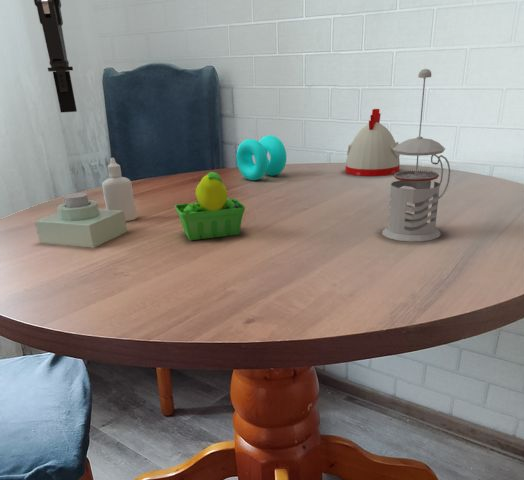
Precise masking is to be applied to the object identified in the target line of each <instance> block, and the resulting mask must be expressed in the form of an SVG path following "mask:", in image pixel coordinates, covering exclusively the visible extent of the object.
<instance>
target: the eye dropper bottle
mask: <svg viewBox="0 0 524 480" xmlns="http://www.w3.org/2000/svg"><path fill="white" fill-rule="evenodd" d="M109 160H110V161H109V164H108V165H107V174H108V178H106V179H105V180H103V181H102V183H101V188H102V193H103V194H102V195H103V200H104V204H105V205H104V206H105V209H106V210H121V211H124V216H125V222H131V221H134V220H135V221H136V220H137V217H138V216H137V209H136V203H135V196H134V189H133V186H132V181H131V180H130V178H128V177H124V176H122V175H123V174H122V170H121V169H122V168H121V164H118V163H117V162H116V159H115V157H110V158H109Z"/></svg>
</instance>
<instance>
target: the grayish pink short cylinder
mask: <svg viewBox="0 0 524 480" xmlns="http://www.w3.org/2000/svg"><path fill="white" fill-rule="evenodd" d="M63 199H64V203H65V204H66V207H67V208H76V207H83V206H87V205H89V200H90V199H89V195H88V193H85V192H74V193H68V194H65V195H64V196H63Z"/></svg>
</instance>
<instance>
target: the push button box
mask: <svg viewBox="0 0 524 480" xmlns="http://www.w3.org/2000/svg"><path fill="white" fill-rule="evenodd" d="M88 200H89V205H87V206H83V207H76V208H67V207H66V204H65V202H63V203H60V204H58V205H57V206H56V210H57V212H56V213H52V214H50V215H47V216H44V217H42V218H38V219H35V220H34V225H35V228H36V233H37V236H38V240H39V244H48V245H49V244H51V245H58V246H59V245H60V246H71V247H79V248H81V247H82V248H91V249H94V248H97V247H98V246H100V245H103V244H105V243H107V242H109V241H111V240H113V239H115V238H118V237H119V236H122V235H124V234H126V233H128V228H127V223H126V222H127V221H126V222H125V216H124V211H121V210H106V208H100V206H99V202H98V201H97V200H93V199H88Z"/></svg>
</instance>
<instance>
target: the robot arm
mask: <svg viewBox="0 0 524 480" xmlns="http://www.w3.org/2000/svg"><path fill="white" fill-rule="evenodd" d="M33 2H34V5H35V7H36V10H37V15H38V20H39V23H40V25H41V26H42V30H43V36H44V39H45V40H44V41H45V45H46V49H47V52H48V53H47V54H48V59H49V66H50V67H47V71H48V72H52V76H53V80H54V85H55V90H56V95H57V100H58V106H59V110H60V113H62V114H63V113H77V112H78V111H77V105H76V99H75V94H74V93H75V92H74V89H73V84H72V77H71V73H70V71H74V68H73V66H70V63H69V60H68V56H67V50H66V43H65V38H64V32H63V24H64V20H63V16H62V10H61V8H62V2H61V0H33Z"/></svg>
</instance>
